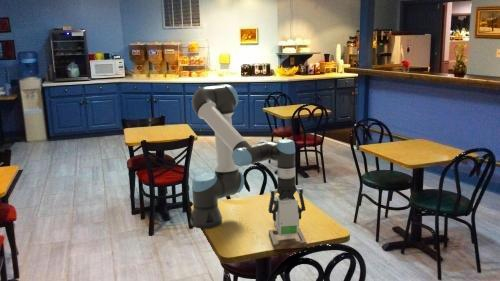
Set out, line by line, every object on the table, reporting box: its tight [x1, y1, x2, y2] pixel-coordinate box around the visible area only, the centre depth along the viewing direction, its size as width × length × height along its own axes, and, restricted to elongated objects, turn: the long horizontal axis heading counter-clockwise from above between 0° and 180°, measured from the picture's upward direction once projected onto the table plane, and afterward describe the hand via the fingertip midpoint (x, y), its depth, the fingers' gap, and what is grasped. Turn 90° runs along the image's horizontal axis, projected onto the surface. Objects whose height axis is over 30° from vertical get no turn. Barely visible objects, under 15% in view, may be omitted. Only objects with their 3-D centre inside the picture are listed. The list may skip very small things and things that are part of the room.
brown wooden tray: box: [268, 227, 308, 250], centre depth 202 cm, size 14×15×2 cm
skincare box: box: [275, 195, 299, 236], centre depth 199 cm, size 8×7×16 cm
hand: (287, 226), depth 201 cm, fingers closed on skincare box, 8 cm apart
